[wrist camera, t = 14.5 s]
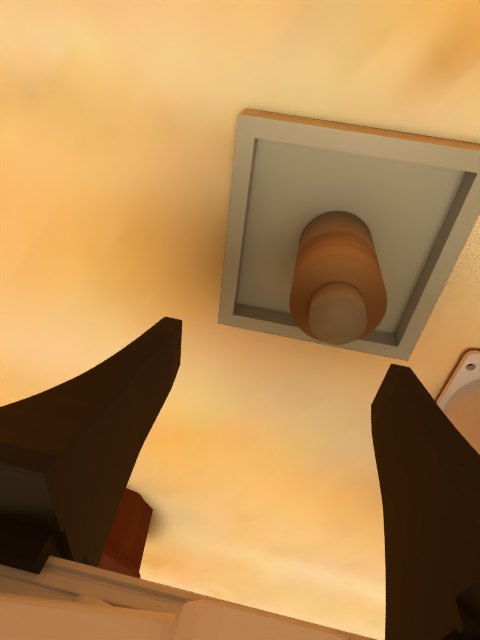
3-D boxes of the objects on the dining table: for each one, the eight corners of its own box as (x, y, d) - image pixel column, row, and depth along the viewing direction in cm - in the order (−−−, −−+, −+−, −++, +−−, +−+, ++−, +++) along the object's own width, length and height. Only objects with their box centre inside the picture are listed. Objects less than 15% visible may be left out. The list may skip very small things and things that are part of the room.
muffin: (41, 486, 41) (-28, 591, 33) (101, 457, 36) (37, 574, 28) (122, 541, 45) (78, 647, 37) (187, 522, 40) (153, 641, 32)
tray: (401, 339, 23) (407, 361, 21) (224, 304, 24) (217, 323, 22) (490, 145, 17) (508, 155, 15) (246, 108, 18) (238, 113, 16)
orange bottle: (364, 281, 20) (379, 367, 14) (296, 274, 21) (283, 355, 15) (378, 213, 18) (403, 280, 12) (302, 208, 19) (290, 270, 13)
